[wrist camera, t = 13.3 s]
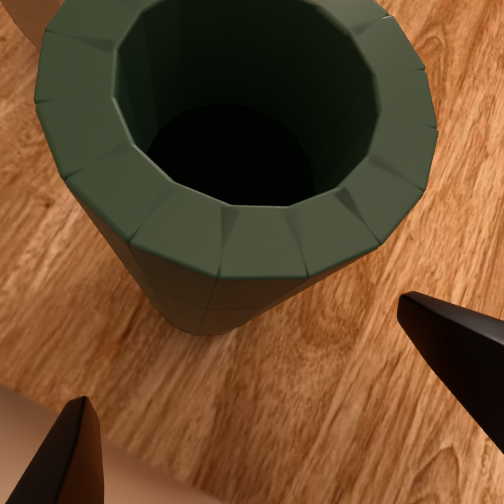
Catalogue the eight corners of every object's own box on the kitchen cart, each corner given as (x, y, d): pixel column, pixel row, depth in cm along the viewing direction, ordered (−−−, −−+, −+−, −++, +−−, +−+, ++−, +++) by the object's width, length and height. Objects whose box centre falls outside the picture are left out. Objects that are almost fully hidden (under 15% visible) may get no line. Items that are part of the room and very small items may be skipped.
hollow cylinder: (265, 333, 18) (472, 277, 5) (147, 337, 17) (4, 282, 4) (260, 225, 20) (405, -39, 6) (151, 223, 19) (58, -93, 5)
